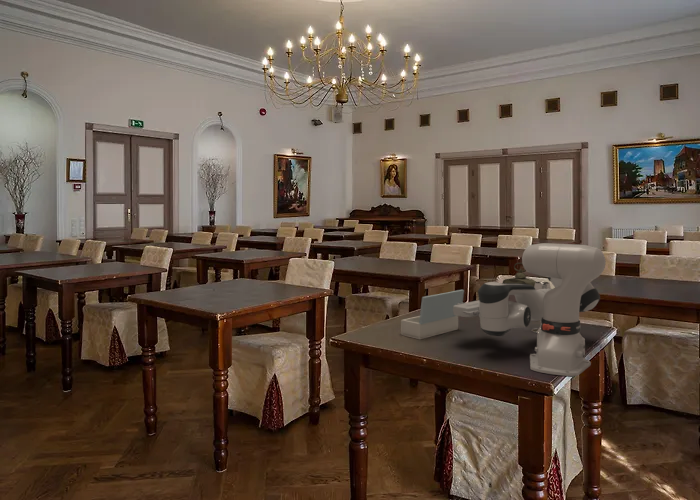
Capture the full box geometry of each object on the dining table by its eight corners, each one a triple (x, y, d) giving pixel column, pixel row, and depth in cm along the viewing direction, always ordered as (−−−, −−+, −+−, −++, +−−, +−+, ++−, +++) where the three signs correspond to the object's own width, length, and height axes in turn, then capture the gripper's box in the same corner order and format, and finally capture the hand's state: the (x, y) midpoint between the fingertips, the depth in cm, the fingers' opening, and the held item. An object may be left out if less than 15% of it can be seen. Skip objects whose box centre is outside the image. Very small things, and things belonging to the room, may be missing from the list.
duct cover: (459, 314, 221) (461, 314, 220) (419, 323, 205) (421, 324, 204) (462, 289, 219) (464, 290, 218) (422, 297, 203) (424, 297, 202)
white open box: (458, 329, 221) (458, 314, 221) (419, 339, 206) (419, 324, 205) (439, 325, 229) (439, 311, 228) (400, 334, 213) (400, 319, 212)
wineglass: (539, 334, 212) (540, 284, 210) (527, 329, 219) (528, 281, 217) (555, 332, 214) (557, 283, 212) (543, 328, 221) (544, 280, 219)
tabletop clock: (500, 315, 247) (501, 262, 244) (513, 313, 252) (514, 260, 250) (527, 321, 235) (528, 264, 233) (539, 318, 240) (541, 263, 238)
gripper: (471, 323, 189) (441, 316, 199) (504, 314, 202) (474, 309, 212) (472, 305, 188) (441, 300, 198) (504, 298, 201) (474, 293, 212)
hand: (458, 304), depth 206 cm, fingers closed
